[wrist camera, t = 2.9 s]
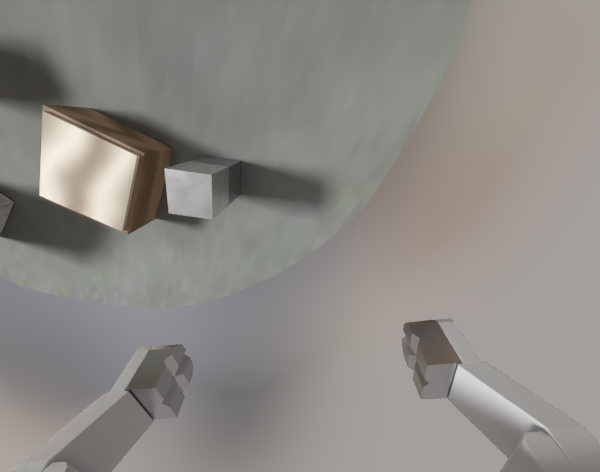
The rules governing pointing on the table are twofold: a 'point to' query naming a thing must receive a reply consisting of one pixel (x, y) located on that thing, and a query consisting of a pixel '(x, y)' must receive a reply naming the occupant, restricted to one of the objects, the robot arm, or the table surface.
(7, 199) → the coffee box
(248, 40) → the table surface
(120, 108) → the table surface
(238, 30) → the table surface
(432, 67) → the table surface
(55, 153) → the walnut stand
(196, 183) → the block
